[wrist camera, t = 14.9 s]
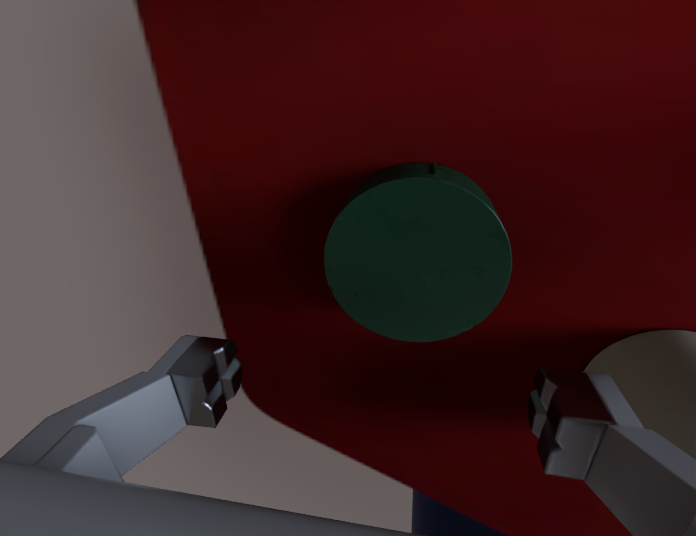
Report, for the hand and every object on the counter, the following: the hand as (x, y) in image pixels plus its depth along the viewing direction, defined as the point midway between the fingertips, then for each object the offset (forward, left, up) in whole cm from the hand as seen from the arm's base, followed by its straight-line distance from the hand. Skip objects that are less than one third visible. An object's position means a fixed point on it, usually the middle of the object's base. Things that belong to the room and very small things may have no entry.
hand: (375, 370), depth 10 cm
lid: (+1, -1, -5) cm, 5 cm away
